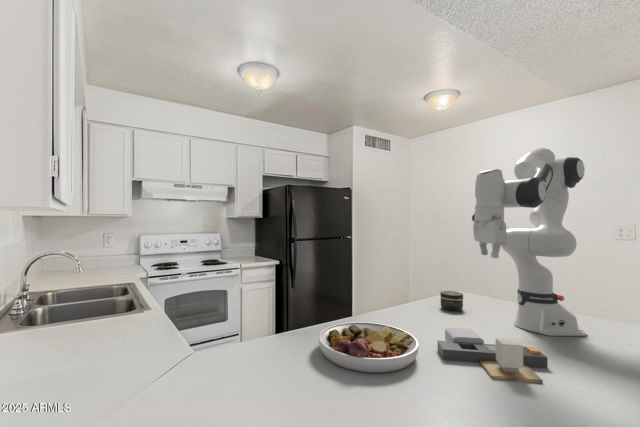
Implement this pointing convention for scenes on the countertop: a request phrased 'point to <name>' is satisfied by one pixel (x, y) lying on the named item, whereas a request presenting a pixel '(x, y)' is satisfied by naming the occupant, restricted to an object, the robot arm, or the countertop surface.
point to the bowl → (368, 346)
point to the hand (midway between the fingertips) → (489, 256)
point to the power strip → (486, 353)
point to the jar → (451, 301)
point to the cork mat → (510, 373)
